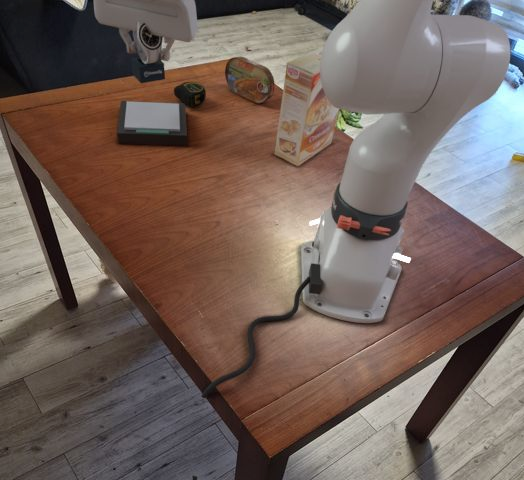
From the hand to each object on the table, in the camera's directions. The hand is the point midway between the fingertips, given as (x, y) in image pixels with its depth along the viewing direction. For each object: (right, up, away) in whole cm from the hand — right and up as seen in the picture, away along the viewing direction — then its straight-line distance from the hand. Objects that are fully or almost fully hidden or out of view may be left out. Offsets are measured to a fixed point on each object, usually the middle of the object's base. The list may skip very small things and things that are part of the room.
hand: (148, 56), depth 97 cm
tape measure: (+5, +1, +21) cm, 22 cm away
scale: (-2, -9, +12) cm, 15 cm away
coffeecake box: (+33, -14, +13) cm, 38 cm away
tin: (+20, +6, +27) cm, 34 cm away
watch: (-1, -3, +3) cm, 4 cm away
